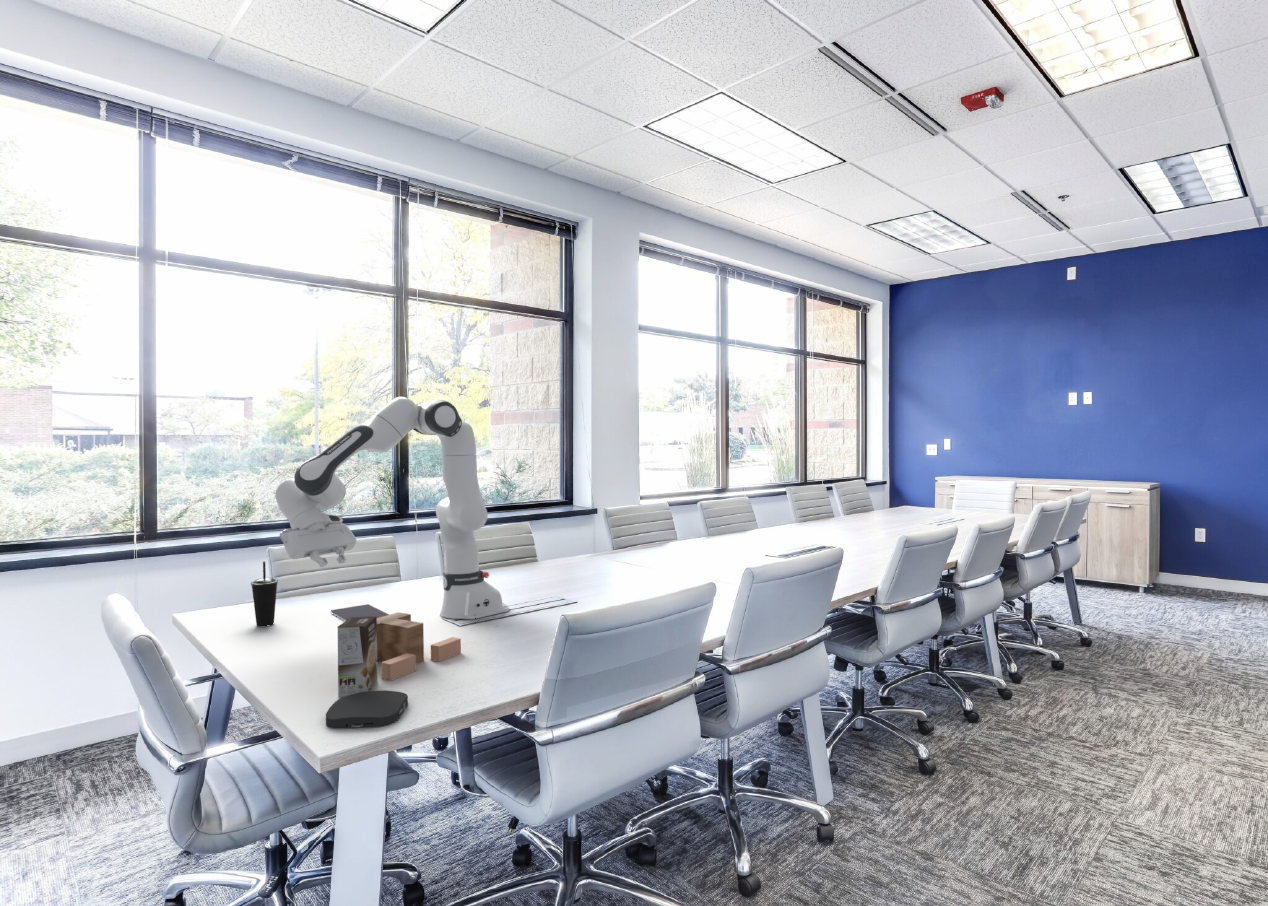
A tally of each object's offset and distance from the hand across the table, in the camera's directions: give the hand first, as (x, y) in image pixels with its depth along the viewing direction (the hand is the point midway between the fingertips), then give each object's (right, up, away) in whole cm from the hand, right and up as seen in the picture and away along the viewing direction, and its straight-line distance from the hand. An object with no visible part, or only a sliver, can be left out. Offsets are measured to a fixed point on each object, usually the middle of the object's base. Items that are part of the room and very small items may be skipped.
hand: (333, 563), depth 194 cm
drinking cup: (-32, -23, +24) cm, 46 cm away
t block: (+21, -24, -11) cm, 34 cm away
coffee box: (+20, -24, -33) cm, 46 cm away
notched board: (+30, -24, -16) cm, 42 cm away
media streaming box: (+28, -25, -47) cm, 60 cm away
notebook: (-6, -23, +34) cm, 42 cm away
